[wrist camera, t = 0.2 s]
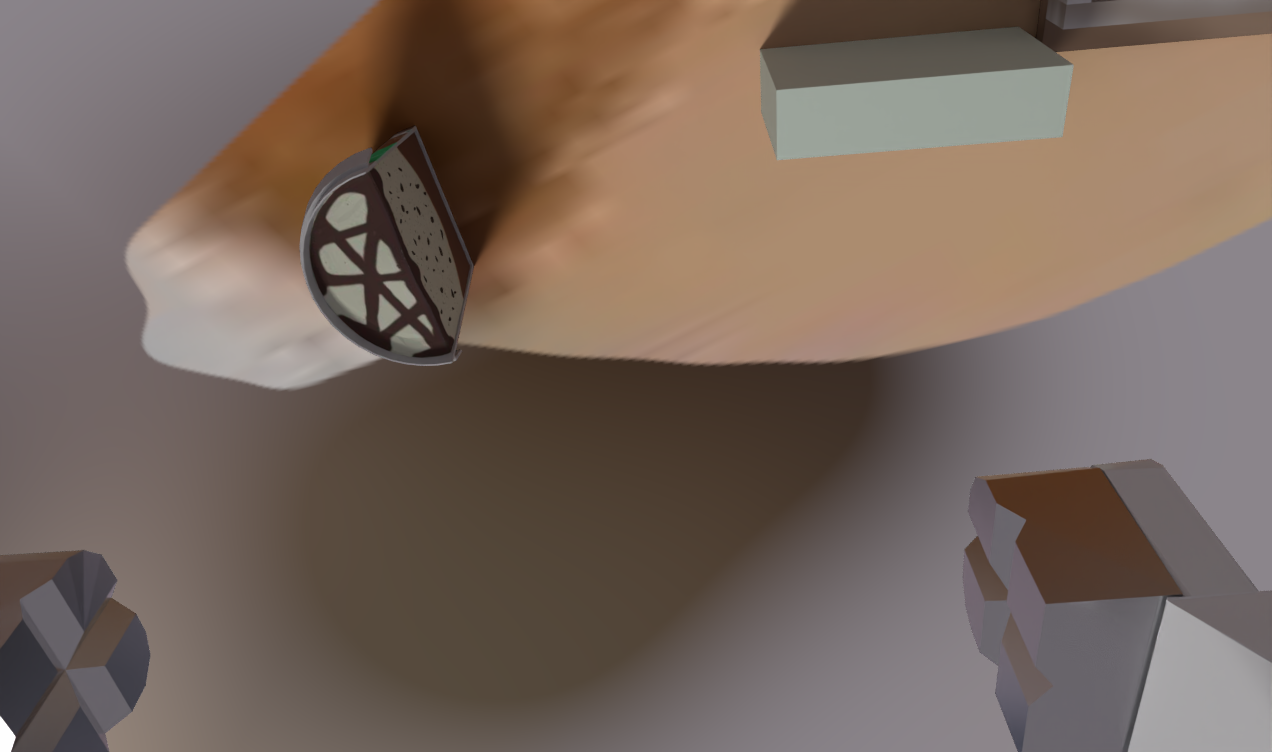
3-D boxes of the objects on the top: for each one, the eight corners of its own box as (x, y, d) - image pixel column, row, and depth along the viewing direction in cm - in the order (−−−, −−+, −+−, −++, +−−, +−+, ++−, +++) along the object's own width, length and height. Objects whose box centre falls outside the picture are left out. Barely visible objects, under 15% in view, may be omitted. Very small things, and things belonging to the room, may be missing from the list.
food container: (307, 129, 55) (245, 194, 47) (405, 100, 54) (360, 161, 46) (393, 310, 61) (352, 396, 53) (482, 287, 61) (455, 370, 52)
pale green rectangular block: (759, 48, 53) (776, 90, 46) (1018, 26, 52) (1073, 64, 45) (760, 111, 54) (776, 160, 48) (1010, 90, 54) (1062, 136, 47)
